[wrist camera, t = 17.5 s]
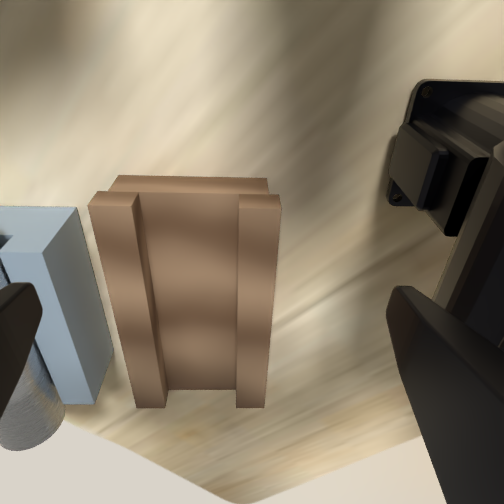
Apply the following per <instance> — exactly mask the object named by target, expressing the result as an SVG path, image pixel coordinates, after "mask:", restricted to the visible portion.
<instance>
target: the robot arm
mask: <svg viewBox="0 0 504 504" xmlns="http://www.w3.org/2000/svg"><path fill="white" fill-rule="evenodd" d="M428 86H429V92H428V93H427V94H426V95H424V96H422V90H423V89H424V88H425V87H428ZM388 173H389V175H390V176H391V179H390V182H389V186H388V190H387V194H386V198H387V200H388V202H389V203H390V204H391V205H392V206H415V207H416V208H417V209H418V210H419V211H425V212H426V213H427V214H428V215H429V217H430V218H431V219H432V220H433V221H434V223H435V224H436V225H437V226H438V227H439V229H440V230H441V231H442V232H443V233H444V235H445V236H450V237H457V239H456V241H455V244H454V246H453V249H452V251H451V254H450V256H449V259H448V261H447V264H446V266H445V269H444V271H443V274H442V276H441V279H440V281H439V284H438V286H437V288H436V291H435V293H434V296H433V298H432V300H431V299H429V298H428V297H426V296H425V295H423V294H422V293H421V292H419V291H418V290H416V289H415V288H413V287H412V286H396V287H394V288H393V290H392V293H391V296H390V299H389V303H388V306H387V309H386V320H387V324H388V328H389V332H390V337H391V341H392V345H393V349H394V353H395V358H396V362H397V366H398V369H399V373H400V376H401V379H402V382H403V384H404V387H405V390H406V393H407V395H408V398H409V401H410V404H411V406H412V409H413V412H414V415H415V417H416V420H417V423H418V426H419V428H420V431H421V434H422V437H423V439H424V442H425V445H426V448H427V450H428V453H429V456H430V458H431V461H432V464H433V467H434V469H435V472H436V475H437V478H438V480H439V483H440V486H441V489H442V492H443V494H444V497H445V500H446V503H447V504H504V81H476V80H444V79H424V80H421V81H420V82H418V83H417V84H416V86H415V88H414V90H413V94H412V97H411V101H410V105H409V109H408V113H407V117H406V121H405V123H404V124H403V125H401V126H400V128H399V131H398V135H397V139H396V143H395V147H394V151H393V155H392V159H391V163H390V167H389V171H388ZM396 194H400V195H399V197H398V198H396V199H393V197H394V196H395V195H396ZM42 314H43V308H42V304H41V302H40V299H39V297H38V294H37V291H36V289H35V287H34V285H33V284H32V283H30V282H13V283H11V284H9V285H7V286H5V287H4V288H2V289H0V420H1V417H2V415H3V413H4V411H5V409H6V407H7V405H8V403H9V401H10V398H11V396H12V394H13V392H14V390H15V388H16V386H17V384H18V382H19V379H20V377H21V375H22V373H23V370H24V368H25V365H26V362H27V359H28V356H29V353H30V351H31V348H32V345H33V342H34V339H35V336H36V333H37V330H38V327H39V324H40V321H41V318H42Z"/></svg>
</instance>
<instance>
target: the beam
mask: <svg viewBox="0 0 504 504" xmlns="http://www.w3.org/2000/svg"><path fill="white" fill-rule="evenodd" d="M87 206H88V210H89V214H90V218H91V222H92V226H93V231H94V235H95V239H96V243H97V247H98V251H99V255H100V259H101V263H102V268H103V272H104V276H105V280H106V284H107V288H108V292H109V296H110V301H111V305H112V309H113V313H114V317H115V321H116V325H117V329H118V334H119V338H120V342H121V346H122V350H123V354H124V358H125V362H126V366H127V371H128V375H129V379H130V383H131V387H132V391H133V395H134V399H135V404H136V408H165V407H166V401H167V396H168V390H236V408H264V405H265V393H266V382H267V370H268V359H269V347H270V335H271V324H272V312H273V301H274V289H275V278H276V266H277V254H278V243H279V231H280V220H281V204H280V198H279V195H271V194H269V191H268V184H267V178H231V177H183V176H134V175H118V177H117V178H116V180H115V181H114V183H113V184H112V186H111V187H110V189H109V190H108V191H97V193H96V194H95V195H94V197H93V198H92V200H91V201H90V202H89V204H88V205H87Z"/></svg>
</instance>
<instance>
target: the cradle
mask: <svg viewBox="0 0 504 504" xmlns="http://www.w3.org/2000/svg"><path fill="white" fill-rule="evenodd" d="M0 258H1V260H2V263H3V265H4V267H5V270H6V272H7V274H8V277H9V279H10V281H11V283H13V282H30V283H32V284H33V285H34V287H35V289H36V291H37V294H38V297H39V299H40V302H41V304H42V308H43V314H42V318H41V321H40V324H39V327H38V330H37V333H36V336H35V340H36V342H37V344H38V347H39V349H40V351H41V354H42V356H43V358H44V361H45V363H46V365H47V368H48V370H49V372H50V375H51V377H52V379H53V382H54V384H55V386H56V389H57V391H58V393H59V396H60V398H61V400H62V403H63V404H95V401H96V399H97V396H98V393H99V390H100V387H101V385H102V382H103V379H104V376H105V373H106V371H107V368H108V365H109V362H110V359H111V357H112V354H113V351H114V349H113V345H112V341H111V337H110V334H109V330H108V326H107V322H106V318H105V315H104V311H103V307H102V303H101V299H100V295H99V292H98V288H97V284H96V280H95V276H94V273H93V269H92V265H91V261H90V257H89V253H88V250H87V246H86V242H85V238H84V234H83V231H82V227H81V223H80V219H79V215H78V212H77V208H76V207H31V206H0Z"/></svg>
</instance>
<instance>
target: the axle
mask: <svg viewBox="0 0 504 504" xmlns="http://www.w3.org/2000/svg"><path fill="white" fill-rule="evenodd" d="M9 284H11V281H10V279H9V277H8V274H7V272H6V270H5V267H4V265H3V263H2V260H1V258H0V289H2V288H4V287H5V286H7V285H9ZM64 415H65V405H64V404H63V403H62V400H61V398H60V396H59V393H58V391H57V389H56V386H55V384H54V382H53V379H52V377H51V375H50V372H49V370H48V368H47V365H46V363H45V361H44V358H43V356H42V354H41V351H40V349H39V347H38V344H37V342H36V340H35V339H34V342H33V345H32V348H31V351H30V353H29V356H28V359H27V362H26V365H25V368H24V370H23V373H22V375H21V377H20V379H19V382H18V384H17V386H16V388H15V390H14V392H13V394H12V396H11V398H10V401H9V403H8V405H7V407H6V409H5V411H4V413H3V415H2V417H1V420H0V445H1V446H2V447H4V448H5V449H8V450H11V451H21V450H26V449H30V448H33V447H35V446H37V445H39V444H41V443H43V442H44V441H45V440H47V439H48V438H49V437H51V436H52V434H54V433H55V432H56V430H57V429H58V428H59V426H60V425H61V423H62V421H63V419H64Z"/></svg>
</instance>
